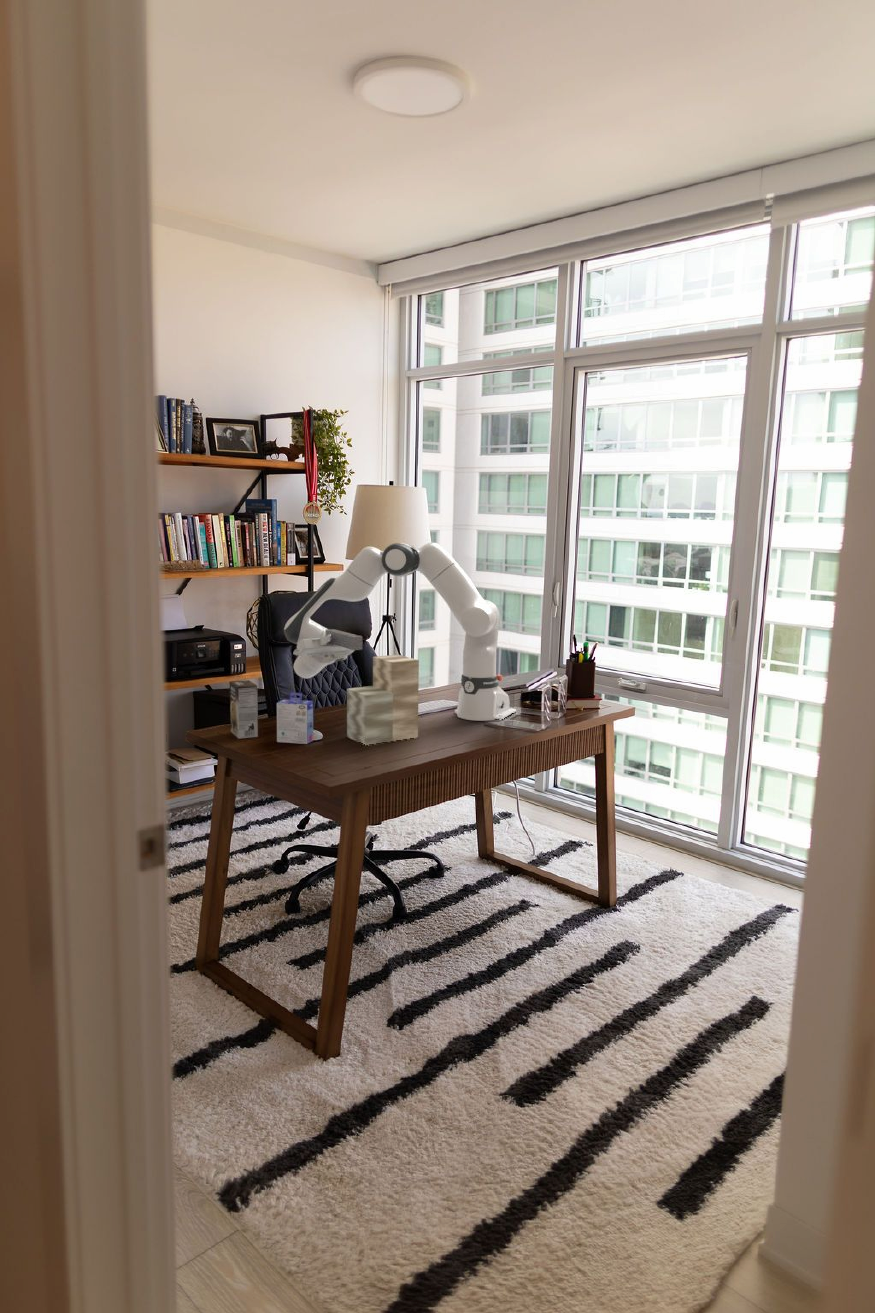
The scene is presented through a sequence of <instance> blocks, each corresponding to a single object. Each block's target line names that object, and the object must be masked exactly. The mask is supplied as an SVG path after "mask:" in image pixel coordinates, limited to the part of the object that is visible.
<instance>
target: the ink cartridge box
mask: <svg viewBox="0 0 875 1313" xmlns="http://www.w3.org/2000/svg"><path fill="white" fill-rule="evenodd" d="M293 696H298V697H293ZM302 698H303V692H290V696H289V699H281V700H279V701H278V702H276V742H277V743H284V744H285V743H286V744H288V743H289V744H301V745H308V744H309V743H311V742H313V741H314V701H313V700H303V699H302Z"/></svg>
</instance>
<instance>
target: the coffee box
mask: <svg viewBox="0 0 875 1313" xmlns="http://www.w3.org/2000/svg"><path fill="white" fill-rule="evenodd" d="M228 683H229V708H230V709H229V710H230V711H229V713H230V715H229V716H230V733H232V735H234V736H235V737H236V738H237V739H247V738H248V739H251V738H258V737H259V728H258V727H259V725H258V724H259V722H258V720H259V718H258V717H259V714H258V713H259V712H258V709H259V708H258V705H259V704H258V685H257V684H256V683H254V682H253V681H251V680H250V679H249V680H230V681H228Z"/></svg>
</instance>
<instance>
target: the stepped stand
mask: <svg viewBox="0 0 875 1313" xmlns="http://www.w3.org/2000/svg"><path fill="white" fill-rule="evenodd" d="M419 665H420V661H419V659H417V658H416V659H415V658H411V657H409V656H404V655H401V654H392V655H381V656H379V655H378V656H372V685H368V686H359V687H358V686H356V687H350V688H346V737H347V738H349V739H351V740H353V741H355V742H357V743H359V742H361V743H363V744H362V745H364V744H365V745H364V746H366V745H368V746H370V745H369V744H374V745H377V744H376V743H381V742H388V743H391V742H390V741H394V742H397V741H396V740H401V741H404V740H403V739H407V740H411V739H410V738H414V739H418V738H419V689H420V688H419V683H420V682H419V681H420V680H419V676H420V675H419V674H420V670H419V669H420V668H419V667H420V666H419ZM417 737H418V738H417ZM361 743H360V744H361ZM381 744H382V743H381Z"/></svg>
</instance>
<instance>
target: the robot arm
mask: <svg viewBox="0 0 875 1313" xmlns="http://www.w3.org/2000/svg"><path fill="white" fill-rule="evenodd" d="M416 571H417V572H419V573H420V574H422V575H424V577H425V578H426V579H427V581H428V582H429V583H430V584H431V586H433V588H434V590H436V591H437V593H438V594H439V595H440V597H441V598H442V599H443V601H444V602H445V603H446V604H447V606H448V608H449V609H450V611H451V613H452V614H453V616H454V617H455V618H456V620H457V621H458V623H459V625H460V626H461V628H462V629H463V631H464V632H465V636H464V646H463V652H462V653H463V654H462V655H463V656H462V674H461V679H460V681H461V682H460V684H461V688H460V689H459V691H458V698H457V699H458V700H457V708H455V709H454V713H455V714H456V716H457V717H458V718H460V719H463V720H467V721H478V722H479V721H481V722H484V721H495V720H494V719H503V720H505V719H506V718H505V717H507V716H508V715H510V714H511V713H514V712H515V711H516V712H517V709H516V708H513V707H510V696H509V695H508V693H507V692H506V691H504V690H503V689H502V688H501V687H500V685H499V682H503V679H504V678H503V675H502V674H497V647H498V640H499V639H498V638H499V637H498V636H499V624H500V612H499V609H498V607H497V605H496V604H495V603H494V602H492V601H491V600H488V599H484V598H483V597H482V596H481V594H480V593H479V591H478V590H477V588H476V586H475V585H474V583H473V581H472V580H471V578H470V577H469V576H468V574H467V573H466V572H465V571H464V570H463V568H462V567H461V566H460V565H459V563H458V562H457V561H456V560H455V559H454V557H453V556H452V555H451V554H450V553H449V552H448V551H447V549H446V550H445V548H443V546H442V545H440V544H438V543H437V542H428V543H425V544H424V545H422V546H421V547H420V548H415V547H414V546H412V545H410V544H408V543H405V542H395V543H391V544H388V546H386V547H385V549H384V550H381V549H379V548H377V547H375V546H366V547H363V549H361V551H359V552H358V554H357V555H356V556H355V557H354V558H353V560H352V561H351V562H350V564H349V565H348V567H347V568H346V569H345V571H344V572H343V573H342V574H341V575H339V576H337V577H330V578H329V579H327V580H326V581H325V582H324V583H323V584H322V585H321V586H320V587H319V588H318V589H317V590H316V591H315V592H314V593H313V595H311V596H310V598H309V599H307V601H306V602H304V604H303V605H302V606H301V608H299V610H298V611H297V612H295V614H293V616H291V617H290V618H289V619H288V620H287V621H286V623H285V625H284V628H283V633H284V636H285V638H286V640H287V641H288V642H291V643H292V644H295V645H296V649H294V651H293V653H292V654H293V655H295V656H296V659H295V660H294V663H293V670H294V672H295V674H296V675H297V676H299V677H300V678H301V679H302V678H303V679H310V678H313V677H314V676H317V675H318V673H320V672H321V671H322V670H323V669H324V668H325V667H327V666H329V665H331V664H333V663H336V662H340V661H345V660H346V659H347V658H348V656H349V655H351V654H352V653H354V652H356V650H351V649H348V648H344V647H341V646H337V645H334V644H330V643H327V642H329V641H332V640H333V635H332V634H331V635H327V636H326V637H325V630H329V628H327V627H325V626H323V625H321V624H319V623H317V622H316V621H314V620H312V619H311V617H312V616H313V614H315V612H316V611H317V610H318V609H319V608H320V607H321V606H322V605H323V603H325V602H326V601H329V600H338V601H339V600H341V601H346V602H352V603H353V602H361V601H363V600H365V599H367V598H368V597H369V596H370V594H372V592H373V590H374V589H375V587H376V585H377V584H378V582H379V581H380V579H382V577H383V576H384V575H385V574H387V573H388V574H389V575H392V576H397V577H406V576H411V575H413V574H414V573H415V572H416ZM514 714H515V713H514ZM504 718H505V719H504ZM507 718H508V717H507Z"/></svg>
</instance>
